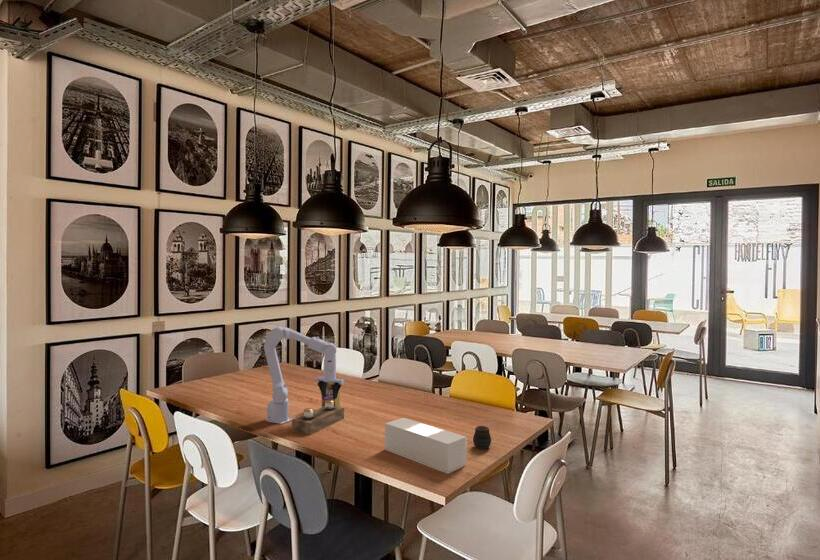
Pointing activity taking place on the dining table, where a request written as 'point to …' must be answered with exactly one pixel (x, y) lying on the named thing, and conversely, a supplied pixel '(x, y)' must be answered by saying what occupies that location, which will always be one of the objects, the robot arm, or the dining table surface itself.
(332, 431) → the dining table surface
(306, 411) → the peg
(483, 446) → the mate gourd
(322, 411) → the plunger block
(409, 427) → the white box
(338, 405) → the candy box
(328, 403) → the peg
